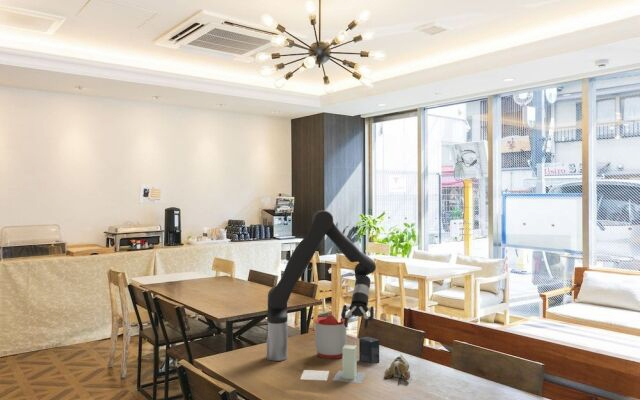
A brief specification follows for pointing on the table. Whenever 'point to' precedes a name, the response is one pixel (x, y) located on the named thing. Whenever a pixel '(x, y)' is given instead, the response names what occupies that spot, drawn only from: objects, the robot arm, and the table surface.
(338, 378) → the post stand
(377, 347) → the box
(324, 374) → the mat
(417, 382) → the table surface
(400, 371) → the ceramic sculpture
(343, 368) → the pale green pillar
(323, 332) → the citrus juicer
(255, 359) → the table surface
